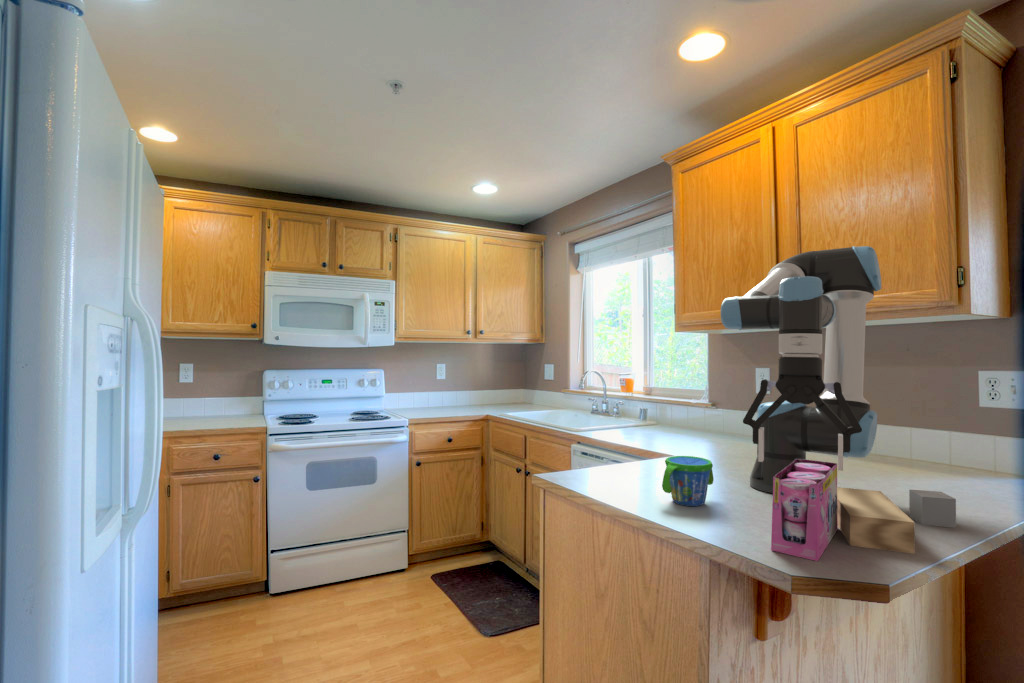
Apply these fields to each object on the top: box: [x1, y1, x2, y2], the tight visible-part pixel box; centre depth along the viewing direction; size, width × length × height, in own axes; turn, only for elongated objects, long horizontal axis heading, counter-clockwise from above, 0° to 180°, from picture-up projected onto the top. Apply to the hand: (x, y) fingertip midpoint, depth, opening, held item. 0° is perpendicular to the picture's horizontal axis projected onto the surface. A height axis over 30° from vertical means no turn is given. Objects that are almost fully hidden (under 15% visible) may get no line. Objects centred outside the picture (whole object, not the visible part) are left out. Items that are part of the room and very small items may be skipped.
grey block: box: [908, 489, 957, 528], centre depth 114 cm, size 6×6×6 cm
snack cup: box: [661, 455, 714, 507], centre depth 127 cm, size 16×10×10 cm
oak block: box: [837, 486, 915, 554], centre depth 109 cm, size 10×23×6 cm, turn 158°
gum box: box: [770, 459, 839, 562], centre depth 103 cm, size 24×8×14 cm, turn 141°
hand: (799, 465), depth 103 cm, fingers open, 13 cm apart
